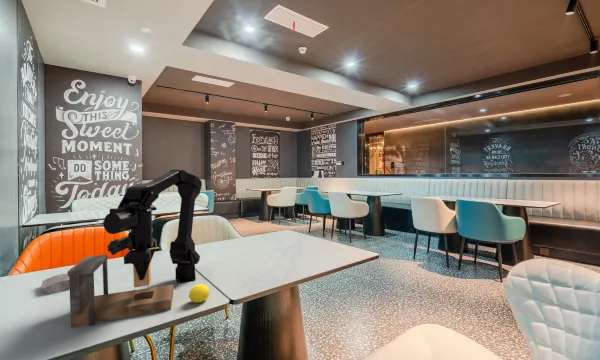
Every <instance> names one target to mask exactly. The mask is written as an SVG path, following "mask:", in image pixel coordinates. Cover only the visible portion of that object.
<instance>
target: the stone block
mask: <svg viewBox="0 0 600 360" xmlns="http://www.w3.org/2000/svg"><path fill="white" fill-rule="evenodd" d="M40 285H41V287H40V289H41V291H42V293H43V294H45V295H55V294H60V293H62V292H66V291H70V285H69V276H68V273H60V274H56V275H53V276H51V277H48V278H46V279H44V280H42V283H41V284H40Z"/></svg>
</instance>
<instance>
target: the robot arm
mask: <svg viewBox="0 0 600 360" xmlns="http://www.w3.org/2000/svg"><path fill="white" fill-rule="evenodd" d="M202 185H203V182H202V180H201V179H200V177H198V176H196V175H194V174H192V173H189V172H187V171H186V170H184V169H181V168H180V169H177V168H176V169H175V168H174V169H170V170H169V171H168V172H166V173H164V174H162V175H161V176H158V177H156V178H154V179H153V180H151V181H148V182H144V183H137V184H134V185H130V186H128V187H127V188H126V192H125V194H124V195H123V197H122V199H121V201H120V202H119V204H118V206H117V208H109V211H108V212H109V213H108V214H106V216H105V217H104V220H103V221H102V224H103V228H104V231H105V232H107V233H108V234H110V235H115V234H119V233H123V232H127V231H129V232H128V234H127V235H126V236H124V237H121V238H119V239H118V238H116V239H113V240H110V241H109V243H108V244H107V252H109V253H110V254H111V256H114V255H116V254H117V253H119V252H122V251H125V250H127V251H128V252H127V253H126V254H125V255H124V256H123V264H124V265H129V264H130V265H131V264H132V266H133V265H134V266H135V268H136V271H137V274H138V277H139V280H144V278H145V275H146V272H147V269H148V267H149V264H151V262H152V259H153V257H154V254H155V252H156V248H157V247H158V245H157V244H158V243H157V242H158V241H157V239H156V238H154V237H153V232H154V228H153V211H157V209H158V208H157V207H156V206H155V205H153V203H154V202H155V201H157V199H159V196H160V194H161V193H162V192H164V191H165V190H168V189H169V188H170V187H173V186H175V187H177V192H178V195H179V197H180V199H181V201H180V209H179V210H180V211H179V219H178V227H177V235H176V238H175V239H174V240H173V241H171V242H170V246H169V247H170V249H169V252H168V253H169V257H170V261H171V263H172V265H176V267H175V270H174V272H175V280H176V283H178V284H179V283H184V282H185V283H186V282H190V281H196V279H197V277H196V265H198V264H199V262H200V261H201V260H200V259H201V255H200V254H199V253H198V252H197V250H196V243H195V242H194V239H193V238H192V233H193V224H194V223H193V222H194V215H195V203H196V199H197V198H198V197H199V195H200V194H201V189H202ZM151 248H154V249H151Z"/></svg>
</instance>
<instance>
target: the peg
mask: <svg viewBox="0 0 600 360" xmlns="http://www.w3.org/2000/svg"><path fill="white" fill-rule="evenodd" d="M132 266H133V267H132V268H133V269H132V270H133V288H141V287H148V286H150V284H151V281H152V272H151V271H152V270H151V269H152V267H151V263H150V264H149V267H148V269H147V272H146V275H145V278H144V280H139V277H138V274H137V271H136V268H135V266H134V265H133V264H132Z"/></svg>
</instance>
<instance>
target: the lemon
mask: <svg viewBox="0 0 600 360" xmlns="http://www.w3.org/2000/svg"><path fill="white" fill-rule="evenodd" d="M209 295H210V289H209V287H208V285H206V284H201V283H200V284H196V285H194V286H193V287H192V288H191V289H190V291H189V294H188V297H189V299H190V300H191V302H193V303H195V304H197V303H202V302H204V301H206V300H207V298H209Z"/></svg>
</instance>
